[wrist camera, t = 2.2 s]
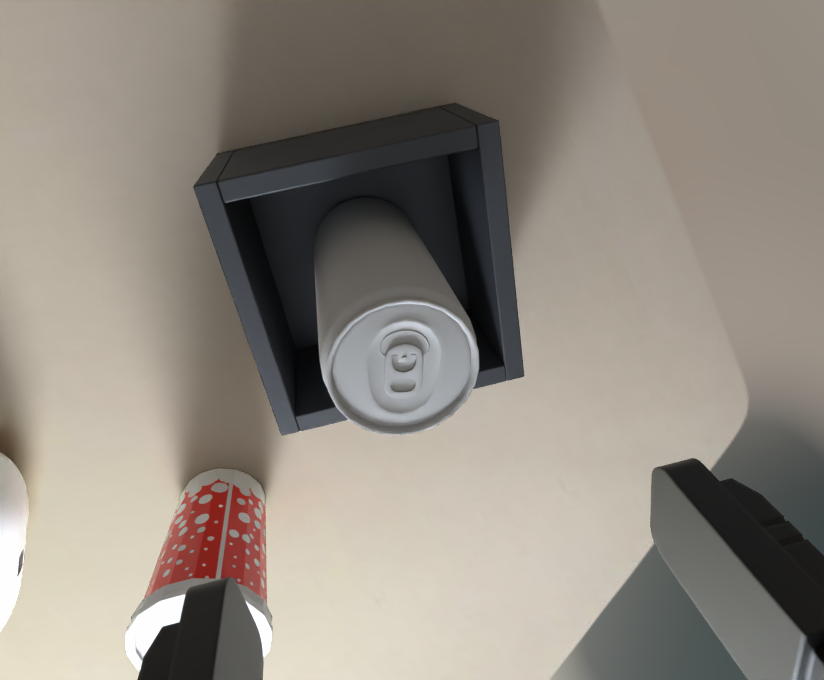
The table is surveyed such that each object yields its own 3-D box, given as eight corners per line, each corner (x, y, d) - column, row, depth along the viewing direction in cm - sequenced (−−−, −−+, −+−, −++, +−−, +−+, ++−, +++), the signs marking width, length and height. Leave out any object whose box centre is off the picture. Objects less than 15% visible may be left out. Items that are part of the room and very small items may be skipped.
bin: (455, 102, 26) (499, 120, 20) (483, 315, 31) (524, 377, 25) (216, 153, 25) (192, 186, 19) (285, 362, 30) (281, 436, 24)
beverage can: (417, 194, 27) (492, 292, 16) (412, 291, 29) (476, 434, 19) (311, 193, 26) (318, 296, 16) (314, 293, 28) (322, 444, 18)
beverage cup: (155, 530, 34) (71, 813, 21) (181, 446, 31) (105, 708, 19) (260, 548, 35) (240, 817, 23) (292, 470, 33) (288, 722, 21)
